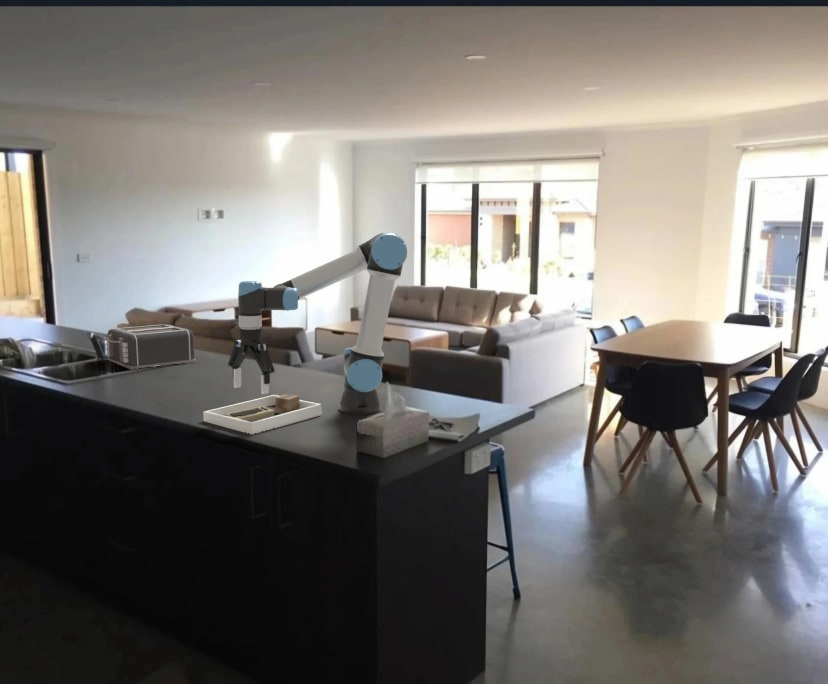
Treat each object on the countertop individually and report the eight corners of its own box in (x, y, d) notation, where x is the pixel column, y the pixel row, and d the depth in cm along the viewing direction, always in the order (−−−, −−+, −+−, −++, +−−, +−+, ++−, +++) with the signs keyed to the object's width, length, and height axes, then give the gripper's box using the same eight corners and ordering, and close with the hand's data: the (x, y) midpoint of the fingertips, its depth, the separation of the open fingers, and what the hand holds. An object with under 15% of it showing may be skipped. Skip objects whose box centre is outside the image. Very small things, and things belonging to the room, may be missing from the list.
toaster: (97, 365, 349) (95, 329, 346) (170, 356, 372) (168, 323, 370) (121, 374, 327) (119, 336, 324) (196, 365, 350) (195, 329, 347)
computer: (236, 425, 241) (236, 415, 241) (222, 422, 246) (221, 412, 246) (275, 416, 253) (274, 407, 252) (260, 414, 258) (260, 405, 258)
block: (299, 412, 262) (299, 396, 261) (289, 416, 257) (289, 399, 256) (285, 410, 265) (285, 394, 264) (275, 414, 259) (275, 397, 258)
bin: (321, 415, 258) (321, 404, 257) (252, 435, 232) (251, 423, 232) (274, 405, 272) (274, 394, 271) (203, 423, 246) (203, 411, 245)
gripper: (285, 330, 239) (285, 394, 242) (234, 323, 253) (235, 383, 256) (267, 332, 233) (268, 397, 236) (216, 325, 247) (217, 386, 250)
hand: (251, 390), depth 246 cm, fingers open, 13 cm apart
